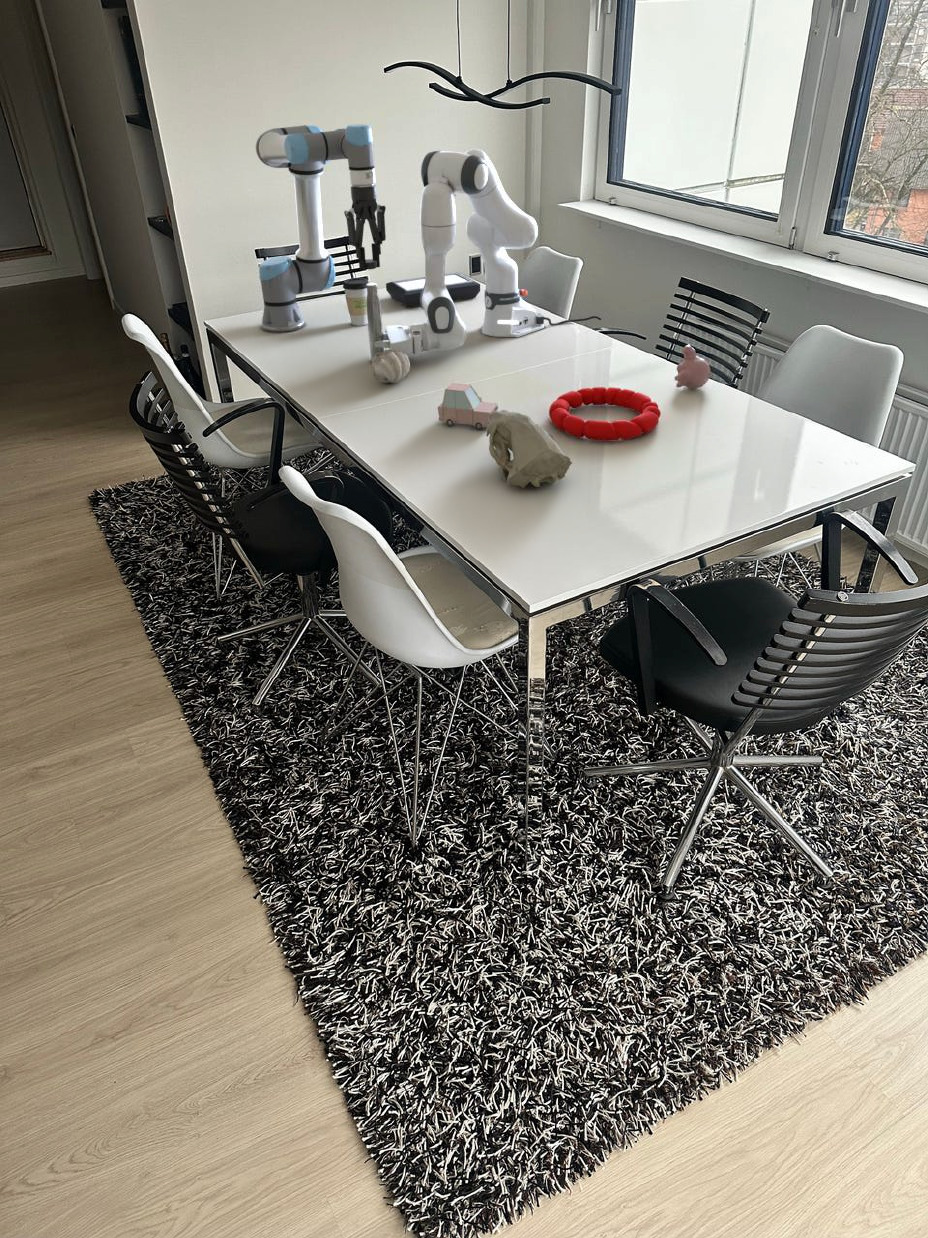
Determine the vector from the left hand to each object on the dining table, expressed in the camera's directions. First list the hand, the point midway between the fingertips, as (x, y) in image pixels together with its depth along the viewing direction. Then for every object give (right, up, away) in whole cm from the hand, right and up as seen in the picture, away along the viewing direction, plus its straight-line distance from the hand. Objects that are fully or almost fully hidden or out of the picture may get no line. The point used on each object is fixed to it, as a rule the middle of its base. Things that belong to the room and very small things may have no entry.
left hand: (369, 267), depth 275 cm
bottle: (+1, -24, +16) cm, 29 cm away
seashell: (+7, -36, -1) cm, 37 cm away
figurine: (+96, -41, -12) cm, 105 cm away
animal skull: (+43, -72, -55) cm, 100 cm away
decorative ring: (+67, -55, -31) cm, 92 cm away
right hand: (0, -19, +12) cm, 23 cm away
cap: (0, +1, -1) cm, 2 cm away
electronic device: (+17, +18, +77) cm, 81 cm away
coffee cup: (-9, 0, +52) cm, 53 cm away
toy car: (+30, -55, -29) cm, 69 cm away
